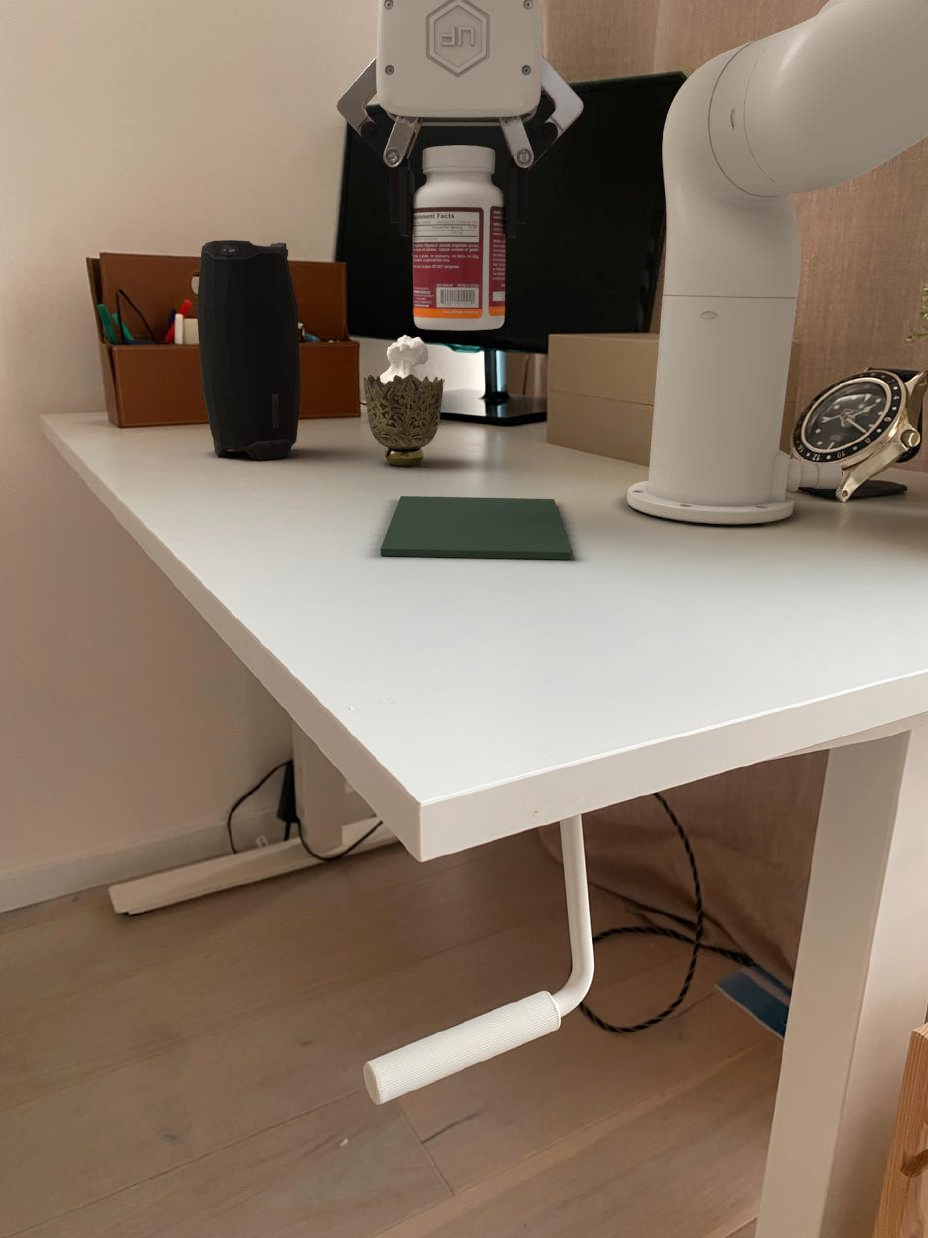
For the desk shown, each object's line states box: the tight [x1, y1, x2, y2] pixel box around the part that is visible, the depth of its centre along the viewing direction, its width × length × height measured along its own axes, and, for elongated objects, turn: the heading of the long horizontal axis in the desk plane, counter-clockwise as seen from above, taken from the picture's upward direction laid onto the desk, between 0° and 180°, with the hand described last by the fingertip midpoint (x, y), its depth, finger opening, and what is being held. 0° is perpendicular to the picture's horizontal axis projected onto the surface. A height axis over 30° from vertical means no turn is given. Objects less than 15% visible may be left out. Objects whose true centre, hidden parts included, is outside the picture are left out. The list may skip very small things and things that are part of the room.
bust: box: [380, 334, 429, 385], centre depth 119 cm, size 12×8×11 cm
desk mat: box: [379, 495, 573, 560], centre depth 69 cm, size 12×16×1 cm
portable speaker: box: [196, 239, 301, 461], centre depth 94 cm, size 9×9×20 cm
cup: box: [363, 374, 445, 467], centre depth 92 cm, size 8×7×8 cm
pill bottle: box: [411, 144, 507, 331], centre depth 65 cm, size 6×6×11 cm
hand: (458, 233), depth 65 cm, fingers closed on pill bottle, 6 cm apart
